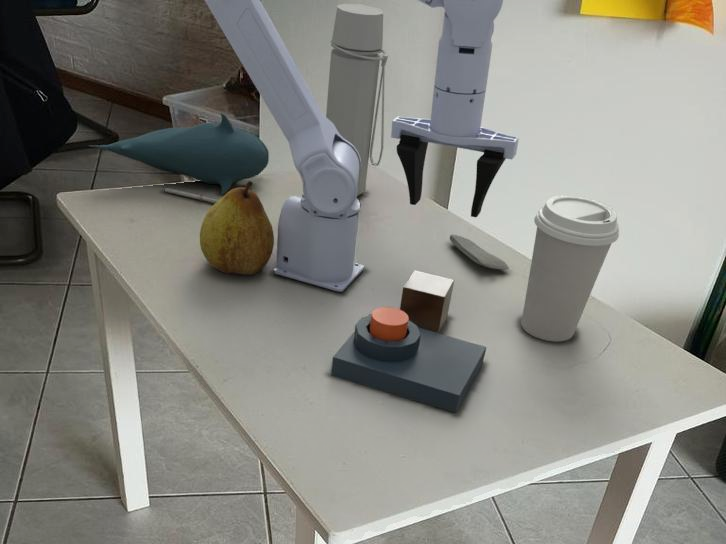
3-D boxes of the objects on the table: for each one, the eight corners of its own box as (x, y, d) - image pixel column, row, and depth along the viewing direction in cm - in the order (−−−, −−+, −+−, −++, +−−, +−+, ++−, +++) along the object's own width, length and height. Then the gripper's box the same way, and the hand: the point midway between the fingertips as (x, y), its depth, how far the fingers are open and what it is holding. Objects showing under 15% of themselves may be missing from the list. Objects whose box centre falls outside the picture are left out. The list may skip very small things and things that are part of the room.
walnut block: (397, 325, 97) (403, 287, 94) (408, 307, 101) (414, 269, 98) (437, 335, 97) (445, 297, 93) (447, 317, 100) (454, 279, 97)
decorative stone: (463, 245, 119) (437, 239, 116) (467, 236, 118) (440, 231, 115) (509, 274, 112) (482, 269, 109) (512, 265, 111) (486, 260, 108)
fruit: (204, 250, 107) (203, 156, 99) (274, 256, 108) (278, 164, 100) (195, 280, 100) (193, 183, 93) (270, 287, 101) (274, 191, 93)
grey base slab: (330, 374, 88) (334, 342, 85) (367, 330, 96) (371, 299, 93) (455, 413, 85) (462, 380, 82) (482, 363, 93) (490, 332, 90)
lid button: (363, 335, 88) (365, 318, 86) (376, 320, 90) (379, 303, 89) (398, 346, 87) (401, 329, 85) (410, 329, 90) (413, 313, 88)
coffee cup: (528, 350, 96) (561, 227, 87) (496, 310, 103) (525, 192, 93) (599, 346, 99) (640, 226, 89) (564, 307, 106) (599, 192, 96)
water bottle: (312, 193, 126) (325, 8, 110) (328, 177, 132) (343, -1, 116) (369, 206, 124) (391, 21, 108) (383, 189, 130) (406, 11, 114)
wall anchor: (217, 205, 118) (218, 198, 118) (164, 193, 120) (164, 186, 119) (220, 205, 119) (221, 198, 118) (167, 193, 121) (168, 186, 120)
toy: (278, 117, 119) (249, 117, 132) (92, 103, 109) (80, 104, 122) (276, 197, 124) (249, 189, 136) (97, 190, 114) (85, 182, 126)
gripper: (532, 88, 92) (511, 208, 101) (409, 69, 95) (399, 186, 104) (518, 104, 87) (497, 228, 95) (389, 83, 90) (380, 204, 99)
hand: (445, 208), depth 99 cm, fingers open, 7 cm apart
